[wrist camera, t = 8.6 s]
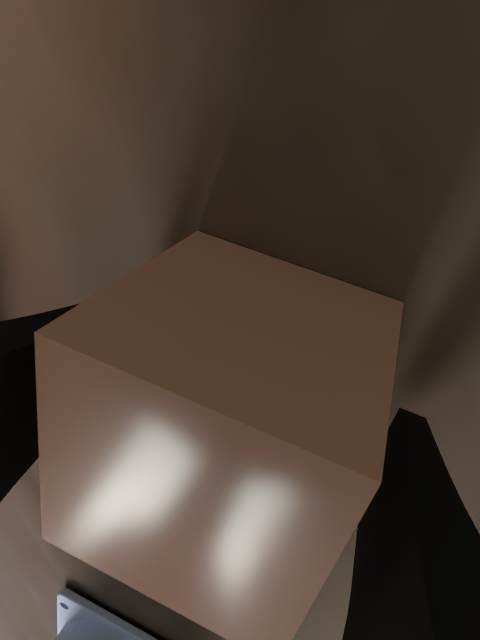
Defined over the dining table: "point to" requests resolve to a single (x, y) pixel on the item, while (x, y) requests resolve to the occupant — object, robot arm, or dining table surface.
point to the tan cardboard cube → (216, 431)
